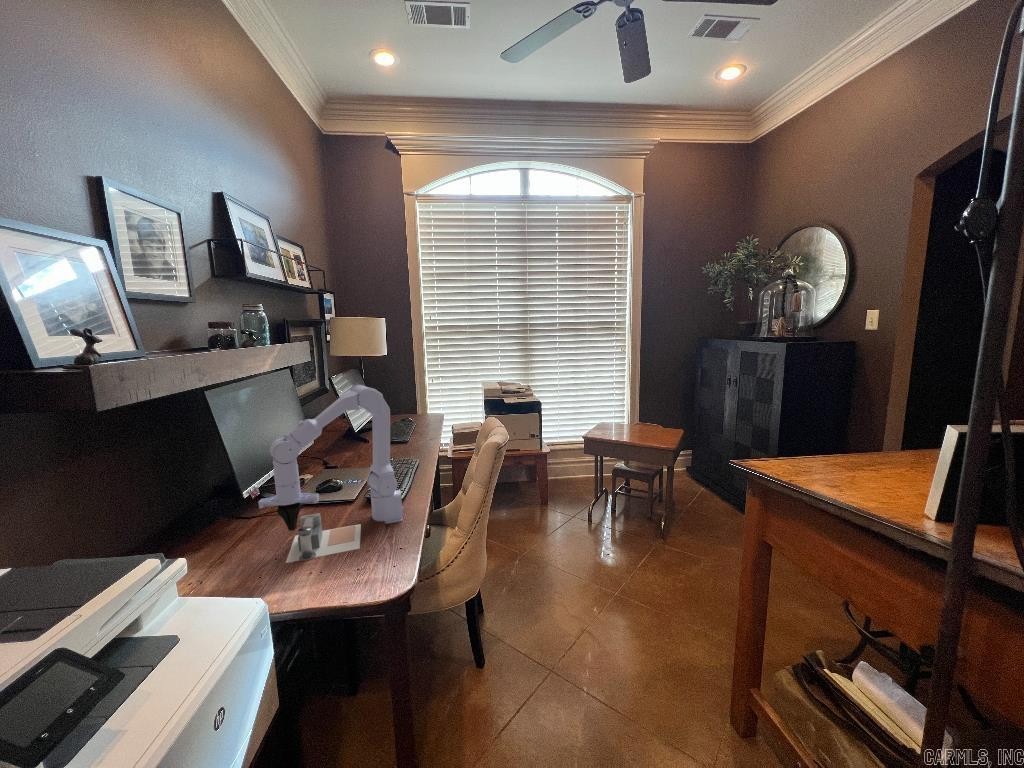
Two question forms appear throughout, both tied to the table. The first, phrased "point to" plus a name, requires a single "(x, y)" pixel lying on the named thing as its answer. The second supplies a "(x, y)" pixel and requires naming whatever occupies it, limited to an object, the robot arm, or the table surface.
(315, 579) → the table surface
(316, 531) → the grey rectangular block
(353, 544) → the board
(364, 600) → the table surface
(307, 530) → the latch
